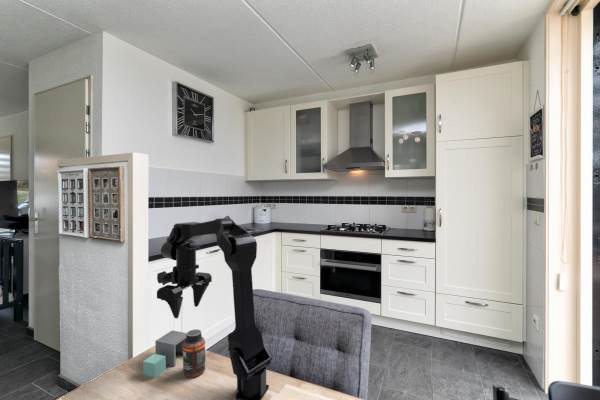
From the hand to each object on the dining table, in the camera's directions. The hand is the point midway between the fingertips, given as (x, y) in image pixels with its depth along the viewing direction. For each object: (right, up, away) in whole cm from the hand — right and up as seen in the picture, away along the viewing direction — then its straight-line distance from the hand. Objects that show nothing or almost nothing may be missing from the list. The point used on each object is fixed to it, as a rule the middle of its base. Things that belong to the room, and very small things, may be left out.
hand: (186, 312), depth 91 cm
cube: (-5, -13, -9) cm, 17 cm away
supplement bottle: (+6, -14, -9) cm, 17 cm away
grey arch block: (-3, -13, -3) cm, 14 cm away
